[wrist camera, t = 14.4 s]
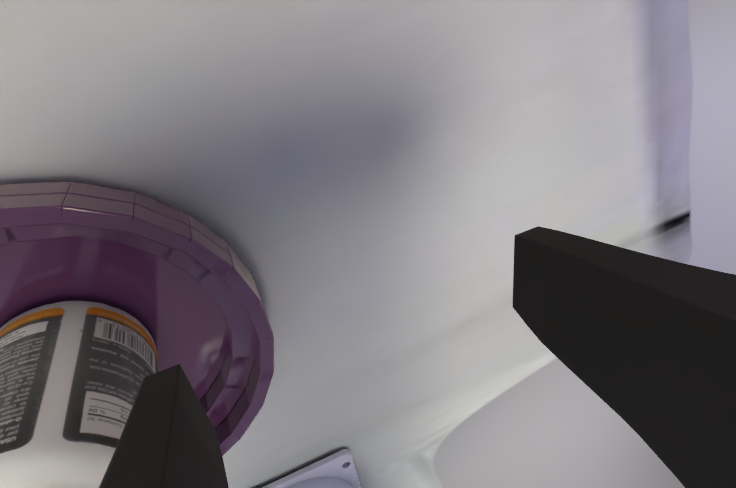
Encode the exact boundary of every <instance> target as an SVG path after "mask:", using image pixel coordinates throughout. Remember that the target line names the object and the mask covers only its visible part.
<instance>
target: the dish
mask: <svg viewBox="0 0 736 488" xmlns="http://www.w3.org/2000/svg"><path fill="white" fill-rule="evenodd" d="M62 301H89V302H97V303H103V304H106V305H109V306H112V307H115V308H118V309H120V310H123V311H125V312H127V313H128V314H130V315H131V316H133V317H135V318H136V319H137V320H138V321H139V322H140V323H141V324H142V325H143V326H144V327H145V328H146V329H147V330H148V331H149V333H150V334H151V336H152V338H153V340H154V343H155V346H156V351H157V360H158V372H159V371H162V370H165V369H167V368H170V367H173V366H175V365H178V364H180V365H181V367H182V369H183V371H184V373H185V375H186V376H187V378H188V380H189V382H190V384H191V386H192V388H193V389H194V391H195V393H196V395H197V397H198V399H199V401H200V403H201V404H202V406H203V408H204V410H205V412H206V414H207V416H208V417H209V419H210V421H211V423H212V425H213V427H214V429H215V431H216V432H217V436H218V440H219V445H220V449H221V454H222V456H223V455H224V454H225V453H226V452H227V451H228V450H229V449H230V448H231V447H232V446H233V445H234V444H235V443H236V442H237V441H238V440H239V439H240V438H241V437H242V436H243V434H244V433H245V431H246V430H247V428H248V427H249V425H250V424H251V422H252V421H253V419H254V418H255V416H256V415H257V413H258V412H259V410H260V409H261V407H262V406H263V403H264V400H265V397H266V394H267V391H268V388H269V385H270V382H271V379H272V376H273V373H274V372H273V371H274V337H273V332H272V330H271V327H270V324H269V321H268V318H267V315H266V312H265V310H264V307H263V304H262V301H261V298H260V296H259V293H258V290H257V287H256V284H255V282H254V279H253V276H252V274H251V273H250V271H249V270H248V269H247V267H246V266H245V265H244V264H243V262H242V261H241V260H240V258H239V257H238V256H237V254H236V253H235V252H234V251H233V249H232V248H231V247H230V245H229V244H228V243H227V242H226V241H225V240H223V239H222V238H220V237H219V236H218V235H216V234H215V233H214V232H212V231H211V230H210V229H208V228H207V227H205V226H204V225H203V224H201V223H200V222H199V221H197V220H196V219H194V218H193V217H192V216H190V215H189V214H187V213H185V212H183V211H180V210H178V209H175V208H173V207H171V206H168V205H166V204H163V203H161V202H158V201H156V200H153V199H151V198H148V197H146V196H143V195H141V194H139V193H134V192H130V191H124V190H118V189H112V188H106V187H101V186H95V185H89V184H83V183H77V182H72V183H71V182H46V183H21V184H3V185H1V186H0V328H1V327H2V326H3V325H5V324H6V323H7V322H8V321H10V320H11V319H13V318H15V317H17V316H18V315H20V314H22V313H24V312H26V311H29V310H31V309H34V308H37V307H40V306H43V305H47V304H53V303H57V302H62Z"/></svg>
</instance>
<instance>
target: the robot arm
mask: <svg viewBox="0 0 736 488" xmlns="http://www.w3.org/2000/svg"><path fill="white" fill-rule="evenodd" d="M513 308H514V309H515V310H516V312H517V313H518V314H519V315H520V317H521V318H522V319H523V320H524V322H525V323H526V324H527V326H528V327H529V328H530V329H531V330H532V331H533V333H534V334H535V335H536V336H537V337H538V339H539V340H540V341H541V342H542V343H543V344H544V345H545V346H546V347H547V348H548V349H549V350H550V351H551V352H552V353H553V354H554V355H555V356H556V357H558V358H559V359H560V360H561V361H562V362H563V363H564V364H565V365H566V366H567V367H568V368H569V369H570V370H571V371H572V372H573V373H574V374H576V375H577V376H578V377H579V378H580V379H581V380H582V381H583V382H584V383H585V384H586V385H587V386H589V387H590V388H591V389H592V390H593V391H594V392H595V393H596V394H597V395H598V396H599V397H600V398H601V399H602V400H603V401H604V402H606V403H607V404H608V405H609V406H610V407H611V408H612V409H613V410H615V412H616V413H618V415H620V416H621V417H622V418H623V419H624V420H625V421H626V422H627V423H628V424H629V425H630V427H631V428H633V430H635V432H637V434H639V436H640V437H641V438H642V439H643V440H644V441H645V442H646V443H647V445H648V446H649V447H650V448H651V449H652V450H653V451H654V452H655V454H656V455H657V456H658V457H659V458H660V459H661V460H662V461H663V463H664V464H665V465H666V466H667V467H668V468H669V469H670V470H671V471H672V473H673V474H674V475H675V476H676V477H677V478H678V480H679V481H680V482H681V483H682V484H683V486H684V487H685V488H736V275H734V274H728V273H723V272H719V271H714V270H710V269H705V268H701V267H696V266H692V265H688V264H683V263H679V262H675V261H671V260H667V259H663V258H659V257H655V256H651V255H647V254H643V253H639V252H636V251H632V250H628V249H624V248H621V247H617V246H613V245H610V244H606V243H602V242H599V241H595V240H591V239H588V238H584V237H580V236H576V235H572V234H569V233H565V232H561V231H557V230H552V229H547V228H542V227H536V228H533V229H530V230H528V231H525V232H523V233H520V234H517V235H515V247H514V281H513ZM99 488H228V482H227V477H226V473H225V468H224V463H223V458H222V454H221V449H220V445H219V440H218V436H217V432H216V431H215V429H214V427H213V425H212V423H211V421H210V419H209V417H208V416H207V414H206V412H205V410H204V408H203V406H202V404H201V403H200V401H199V399H198V397H197V395H196V393H195V391H194V389H193V388H192V386H191V384H190V382H189V380H188V378H187V376H186V375H185V373H184V371H183V369H182V367H181V365H180V364H178V365H175V366H173V367H170V368H167V369H165V370H162V371H159V372H157V373H154V374H152V375H149V376H146V377H145V378H144V379H143V381H142V383H141V385H140V388H139V390H138V393H137V395H136V398H135V401H134V403H133V406H132V409H131V411H130V414H129V416H128V419H127V421H126V424H125V427H124V429H123V432H122V434H121V437H120V439H119V441H118V444H117V446H116V449H115V451H114V454H113V456H112V458H111V461H110V463H109V465H108V468H107V470H106V472H105V475H104V477H103V479H102V481H101V484H100V486H99ZM262 488H361V485H360V482H359V478H358V475H357V471H356V468H355V465H354V461H353V458H352V455H351V452H350V451H349V450H347V449H344V450H341V451H339V452H337V453H334V454H332V455H330V456H328V457H326V458H324V459H322V460H319V461H317V462H315V463H313V464H311V465H309V466H307V467H304V468H302V469H300V470H298V471H296V472H294V473H292V474H290V475H287V476H285V477H283V478H281V479H279V480H277V481H275V482H272V483H270V484H268V485H266V486H264V487H262Z"/></svg>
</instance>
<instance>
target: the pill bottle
mask: <svg viewBox="0 0 736 488" xmlns="http://www.w3.org/2000/svg"><path fill="white" fill-rule="evenodd" d="M157 372H158V360H157V351H156V346H155V343H154V340H153V338H152V336H151V334H150V333H149V331H148V330H147V329H146V328H145V327H144V326H143V325H142V324H141V323H140V322H139V321H138V320H137V319H136V318H135V317H133V316H131V315H130V314H128V313H127V312H125V311H123V310H120V309H118V308H115V307H112V306H109V305H106V304H103V303H97V302H89V301H62V302H57V303H53V304H47V305H43V306H40V307H37V308H34V309H31V310H29V311H26V312H24V313H22V314H20V315H18V316H17V317H15V318H13V319H11V320H10V321H8V322H7V323H6V324H5V325H3V326H2V327H1V328H0V488H99V486H100V484H101V481H102V479H103V477H104V475H105V472H106V470H107V468H108V465H109V463H110V461H111V458H112V456H113V454H114V451H115V449H116V446H117V444H118V441H119V439H120V437H121V434H122V432H123V429H124V427H125V424H126V421H127V419H128V416H129V414H130V411H131V409H132V406H133V403H134V401H135V398H136V395H137V393H138V390H139V388H140V385H141V383H142V381H143V379H144V378H145V377H146V376H149V375H152V374H154V373H157Z"/></svg>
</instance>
